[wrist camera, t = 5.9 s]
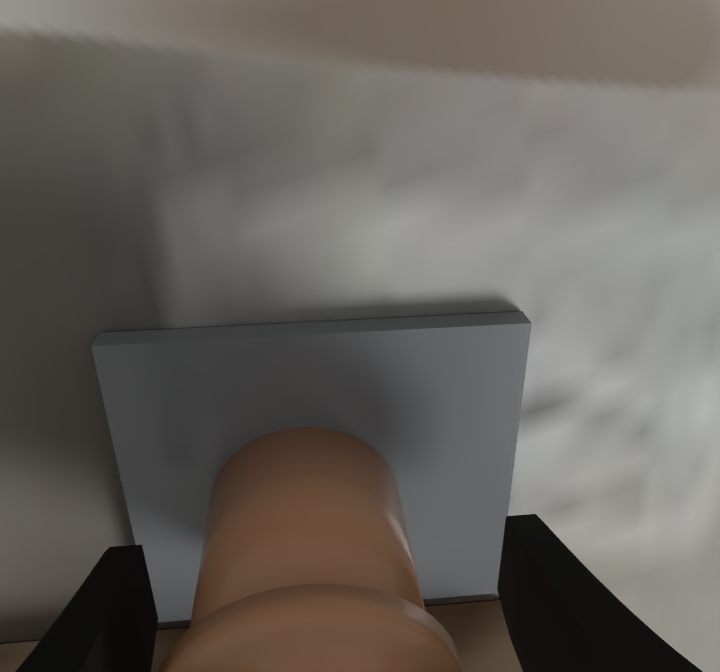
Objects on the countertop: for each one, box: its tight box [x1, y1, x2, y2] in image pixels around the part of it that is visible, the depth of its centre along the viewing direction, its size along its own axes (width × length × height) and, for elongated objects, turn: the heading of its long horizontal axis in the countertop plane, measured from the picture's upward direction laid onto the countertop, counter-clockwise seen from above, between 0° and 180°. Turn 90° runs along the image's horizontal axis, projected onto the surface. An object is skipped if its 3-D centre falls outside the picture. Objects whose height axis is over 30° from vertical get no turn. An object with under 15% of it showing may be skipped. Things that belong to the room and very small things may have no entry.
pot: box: [158, 427, 463, 672], centre depth 13 cm, size 5×5×6 cm
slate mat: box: [91, 311, 531, 623], centre depth 15 cm, size 9×8×1 cm
